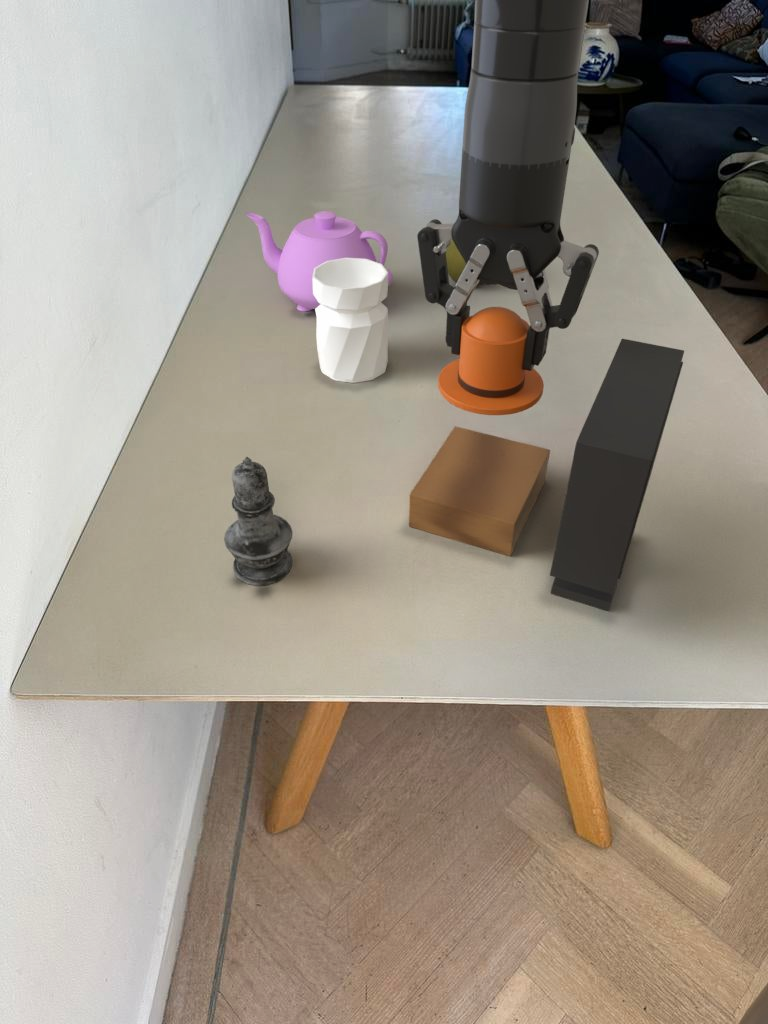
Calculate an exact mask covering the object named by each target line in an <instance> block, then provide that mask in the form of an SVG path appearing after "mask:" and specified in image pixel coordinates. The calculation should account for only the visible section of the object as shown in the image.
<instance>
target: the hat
mask: <svg viewBox="0 0 768 1024" xmlns="http://www.w3.org/2000/svg"><path fill="white" fill-rule="evenodd" d="M530 326H531V325H529V323H528V322H527V321H526V320H525V319H523V318H522V317H521V316H520V315H519V314H518V313H516V312H515V311H513V310H511V309H510V308H506V307H504V306H503V307H502V306H489V307H486V308H483V309H481V310H479V311H477V312H476V313H474V314H472V315H470V317H469V318H467V319H466V320H465V321H464V322H463V324H462V332H461V346H460V355H459V358H458V359H456V360H455V359H454V360H453V361H451V362H449V363H448V364H446V365H445V366H444V367H443V368H442V369H441V371H440V373H439V374H438V380H437V387H438V391H439V393H440V395H441V396H442V397H443V399H445V401H447V402H448V403H449V404H451V405H452V406H454V407H456V408H458V409H460V410H462V411H466V412H468V413H473V414H478V415H484V416H507V415H508V416H509V415H513V414H519V413H521V412H524V411H527V410H529V409H530V408H533V407H534V406H536V404H537V403H538V402H539V401H540V400H541V399H542V396H543V393H544V387H545V386H544V385H545V384H544V379H543V378H542V376H541V375H540V373H539V372H538V371H537V370H536V369H535V368H533V369H532V371H528V370H524V369H522V367H523V359H524V352H525V344H526V337H527V330H528V329H529V327H530Z"/></svg>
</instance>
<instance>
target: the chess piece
mask: <svg viewBox="0 0 768 1024" xmlns="http://www.w3.org/2000/svg"><path fill="white" fill-rule="evenodd" d="M231 480H232V481H231V482H232V486H233V490H234V491H233V492H234V496H233V498H232V500H231V507H232V509H233V510H234V511H235V512H236V516H237V519H236V520H235V521H233V522H232V523H231V524H230V526H228V527H227V529H226V531H225V533H224V538H223V541H224V546H225V547H226V549H227V550H228V552H229V553H230V554H231V555H232V556H233V558H234V560H233V563H232V569H233V574H234V575H235V577H236V578H237V579H238V581H240V582H242V583H244V584H247V585H250V586H254V587H255V586H256V587H259V586H260V587H262V586H268V585H272V584H275V583H277V582H280V581H281V580H283V579H284V578H285V577H286V576H287V575H288V574H289V573H290V571H291V570H292V567H293V559H292V555H291V553H290V552H289V551H288V549H289V547H290V543H291V542H292V539H293V529H292V526H291V525H290V523H289V522H288V521H287V520H286V519H284V518H283V517H281V516H279V515H277V514H274V509H273V508H274V507H275V504H276V498H275V495H274V494H273V493H272V492H271V491H270V487H269V480H268V472H267V471H266V468H265V467H264V466H263V464H261V463H259V462H256V461H252V459H251V458H250V457H248V456H245V458H244V459H243V460H242V462H241V463H239V464H237V465H236V466H235V467H234V469H232V474H231Z"/></svg>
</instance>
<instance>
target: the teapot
mask: <svg viewBox="0 0 768 1024" xmlns="http://www.w3.org/2000/svg"><path fill="white" fill-rule="evenodd" d="M245 215H246V216H247V217H248V218H249V219H250V220H251V221H252V222H254V224H255V225H256V227H257V229H258V231H259V237H260V242H261V243H260V244H261V251H262V255H263V259H264V261H265V263H266V265H267V267H268V268H269V269H270V270H271V271H272V272H273V273H275V274H276V275H277V284H278V286H279V288H280V290H281V292H282V293H283V294H284V295H285V296H286V297H287V298H288V299H290V300H291V302H293V303H294V304H296V305H297V306H296V309H297V310H298V311H299V312H310V311H313V310H315V309H316V308H317V307H318V306H319V305H320V303H319V302H318V301H317V299H316V298H315V296H314V295H313V281H312V277H313V271H314V268H315V267H317V266H319V265H321V264H322V263H324V262H326V261H330V260H335V259H341V258H362V259H368V260H371V261H374V262H377V263H380V264H382V265H383V266H384V267H385V263H386V261H387V257H388V249H389V247H388V242H387V239H386V238H385V236H384V235H382V234H381V233H379V232H377V231H374V230H364V231H362V230H361V229H360V228H359V227H358V225H357V224H356V223H355V222H353V221H352V220H350V219H348V218H344V217H339V216H337V214H336V213H335V212H333V211H329V210H322V211H321V210H320V211H318V212H316V213H315V214H314V217H311V218H307V219H304V220H302V221H300V222H299V223H297V224H296V225H295V226H294V228H293V229H292V231H291V232H290V234H289V237H288V238H287V240H286V242H285V244H284V247H283V249H281V248H280V247H279V246H277V244H276V243H275V240H274V237H273V233H272V229H271V226H270V223H269V222H268V221H267V220H266V218H264V217H263V216H262V215H260V214H256V213H253V212H247V211H246V212H245ZM368 239H369V240H374V241H376V242H377V243H378V244H379V246H380V253H379V259H378V261H377V258H376V256H375V253H374V251H373V248H372V246H371V245H370V242H369V241H368ZM385 269H386V268H385ZM386 271H387V272H388V286H389V285H391V284H392V283H393V279H394V278H393V277H394V276H393V273H392V272H391V271H390V270H389V269H386Z"/></svg>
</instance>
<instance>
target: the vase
mask: <svg viewBox="0 0 768 1024" xmlns="http://www.w3.org/2000/svg"><path fill="white" fill-rule="evenodd" d="M312 281H313V295H314V296H315V298H316V299H317V301H318V302H319V303H320V305H319V306H318V307H317V308H316V309H314V311H315V315H316V325H315V326H316V327H315V329H316V330H315V334H316V335H315V336H316V337H315V338H316V339H315V340H316V350H317V357H318V362H319V368H320V370H321V373H322V374H324V375H325V376H327V377H328V378H330V379H331V380H332V381H337V382H343V383H350V384H355V383H361V382H369V381H374V380H375V379H376V378H378V377H379V376H382V375H383V374H385V373H386V370H387V366H388V364H389V354H388V346H389V345H388V344H389V309H388V307H387V306H386V305H385V304H384V303H383V301H384V300H386V298H388V291H389V290H388V288H389V285H388V272H387V271H386V268H385V265H384V266H383V265H382V264H380V263H378V261H377V262H374V261H371V260H368V259H362V258H341V259H335V260H330V261H326V262H324V263H322V264H321V265H319V266H317V267H315V268H314V271H313V277H312Z"/></svg>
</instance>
